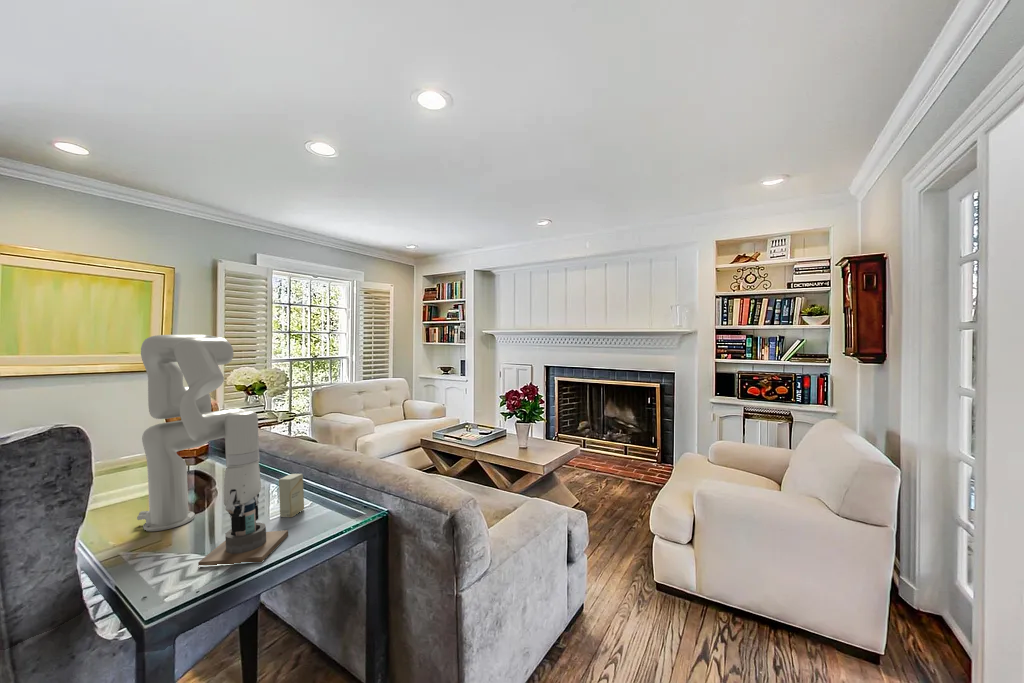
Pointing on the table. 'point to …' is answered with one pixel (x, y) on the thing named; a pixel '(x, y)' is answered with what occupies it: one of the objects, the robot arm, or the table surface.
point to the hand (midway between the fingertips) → (245, 525)
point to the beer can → (248, 517)
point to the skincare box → (291, 495)
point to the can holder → (245, 547)
